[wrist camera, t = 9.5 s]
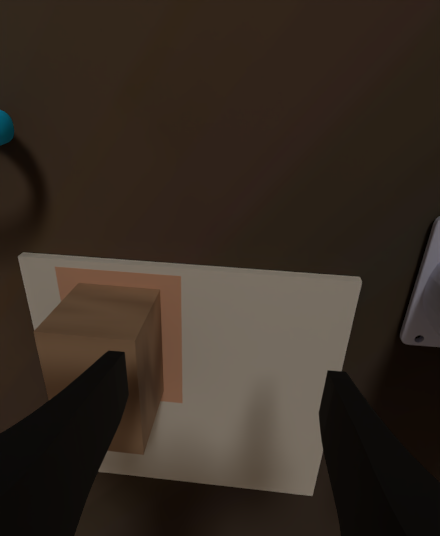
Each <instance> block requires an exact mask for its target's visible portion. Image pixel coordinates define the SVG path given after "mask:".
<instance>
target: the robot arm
mask: <svg viewBox="0 0 440 536" xmlns="http://www.w3.org/2000/svg"><path fill="white" fill-rule="evenodd" d="M419 335H421V336H420V337H419V338H417V339H415V337H416V336H419ZM400 339H401V340H402V342H403V343H404V344H407V345H418V346H430V347H440V216H439V217H438V218H437V219H436V220H435V221H434V223H433V226H432V229H431V233H430V236H429V239H428V243H427V246H426V249H425V252H424V256H423V259H422V262H421V266H420V269H419V272H418V276H417V279H416V282H415V285H414V289H413V292H412V295H411V299H410V302H409V305H408V308H407V312H406V315H405V318H404V322H403V325H402V328H401V332H400ZM128 396H129V390H128V380H127V370H126V359H125V352H120V351H109V350H108V351H107V352H106V353H105V354H104V355H102V356H101V357H100V358H99V359H98V360H97V361H96V362H94V363H93V364H92V365H91V366H90V367H89V368H88V369H87V370H85V371H84V372H83V373H82V374H81V375H80V376H79V377H77V378H76V379H75V380H74V381H73V382H71V383H70V384H69V385H68V386H67V387H66V388H64V389H63V390H62V391H61V392H59V393H58V394H57V395H56V396H54V397H53V398H52V399H50V400H49V401H48V402H46V403H45V404H44V405H43V406H41V407H40V408H39V409H37V410H36V411H34V412H33V413H32V414H30V415H29V416H27V417H26V418H24V419H23V420H21V421H20V422H18V423H17V424H15V425H14V426H12V427H10V428H9V429H7V430H5V431H4V432H2V433H0V536H74V535H75V532H76V528H77V525H78V523H79V520H80V517H81V514H82V511H83V508H84V505H85V502H86V499H87V497H88V494H89V491H90V489H91V487H92V484H93V482H94V479H95V477H96V475H97V473H98V471H99V468H100V466H101V464H102V462H103V460H104V457H105V455H106V453H107V451H108V449H109V446H110V444H111V442H112V440H113V437H114V435H115V433H116V431H117V429H118V426H119V424H120V422H121V419H122V416H123V412H124V409H125V406H126V403H127V399H128ZM319 423H320V432H321V441H322V446H323V451H324V455H325V460H326V464H327V469H328V473H329V477H330V482H331V486H332V491H333V495H334V499H335V504H336V508H337V513H338V519H339V524H340V531H341V536H440V482H439V481H438V480H436V479H435V478H434V477H433V476H432V475H431V474H430V473H429V472H428V471H427V470H426V469H425V468H424V467H423V466H422V465H421V464H420V463H419V462H418V461H417V460H416V459H415V458H414V457H413V456H412V455H411V454H410V453H409V452H408V450H407V449H406V448H405V447H404V446H403V445H402V444H401V443H400V442H399V440H398V439H397V438H396V437H395V436H394V435H393V433H392V432H391V431H390V430H389V429H388V427H387V426H386V425H385V424H384V423H383V421H382V420H381V419H380V417H379V416H378V415H377V414H376V412H375V411H374V410H373V409H372V407H371V406H370V405H369V403H368V402H367V401H366V399H365V398H364V396H363V395H362V394H361V392H360V391H359V390H358V388H357V387H356V385H355V384H354V383H353V381H352V380H351V378H350V377H349V375H348V374H347V373H346V372H342V371H331V370H328V371H327V376H326V380H325V385H324V390H323V395H322V399H321V404H320V409H319Z"/></svg>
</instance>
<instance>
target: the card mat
mask: <svg viewBox="0 0 440 536" xmlns="http://www.w3.org/2000/svg"><path fill="white" fill-rule="evenodd" d="M18 260H19V264H20V269H21V273H22V278H23V282H24V287H25V291H26V295H27V300H28V304H29V309H30V313H31V318H32V322H33V327H34V330H35V329H36V328H37V327H38V326H39V325H40V324H41V323H42V322H43V321H44V320H45V319H46V317H47V316H48V315H49V314H50V313H51V312H52V311H53V310H54V309H55V308H56V307H57V306H58V305H59V303H60V302H61V301H62V300H63V299H64V298H65V297H66V296H67V295H68V294H69V293H70V292H71V290H72V289H73V288H74V287H75V286H76V285H77V284H78V283H87V284H99V285H112V286H124V287H136V288H148V289H160V300H161V328H162V355H163V382H164V392H163V395H162V398H161V401H160V404H159V408H158V411H157V414H156V417H155V420H154V423H153V427H152V430H151V433H150V436H149V439H148V443H147V446H146V449H145V452H144V455H140V454H131V453H122V452H113V451H107V453H106V455H105V457H104V460H103V462H102V464H101V466H100V468H99V471H98V472H106V473H115V474H123V475H132V476H141V477H150V478H159V479H168V480H176V481H185V482H194V483H203V484H212V485H220V486H229V487H238V488H247V489H256V490H265V491H273V492H282V493H291V494H300V495H309V496H313V491H314V487H315V483H316V479H317V474H318V470H319V466H320V461H321V457H322V453H323V446H322V441H321V432H320V423H319V409H320V404H321V399H322V395H323V390H324V385H325V380H326V376H327V371H328V370H331V371H342V366H343V362H344V358H345V353H346V349H347V345H348V340H349V336H350V332H351V327H352V323H353V319H354V314H355V310H356V306H357V301H358V297H359V293H360V288H361V284H362V281H361V279H360V277H355V276H341V275H328V274H314V273H300V272H286V271H273V270H259V269H245V268H232V267H218V266H204V265H190V264H177V263H163V262H149V261H135V260H122V259H108V258H94V257H80V256H67V255H53V254H39V253H26V252H23V253H22V254H20V255H19V256H18Z"/></svg>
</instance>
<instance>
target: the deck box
mask: <svg viewBox="0 0 440 536" xmlns="http://www.w3.org/2000/svg"><path fill="white" fill-rule="evenodd" d="M34 336H35V341H36V345H37V350H38V354H39V359H40V363H41V368H42V372H43V377H44V381H45V386H46V390H47V395H48V399H49V400H50V399H52V398H53V397H54V396H56V395H57V394H58V393H59V392H61V391H62V390H63V389H64V388H66V387H67V386H68V385H69V384H70V383H71V382H73V381H74V380H75V379H76V378H77V377H79V376H80V375H81V374H82V373H83V372H84V371H85V370H87V369H88V368H89V367H90V366H91V365H92V364H93V363H94V362H96V361H97V360H98V359H99V358H100V357H101V356H102V355H104V354H105V353H106V352H107V351H108V350H109V351H120V352H125V359H126V370H127V380H128V390H129V396H128V399H127V403H126V406H125V409H124V412H123V416H122V419H121V422H120V424H119V426H118V429H117V431H116V433H115V435H114V437H113V440H112V442H111V444H110V446H109V449H108V451H113V452H122V453H131V454H140V455H144V452H145V449H146V446H147V443H148V439H149V436H150V433H151V430H152V427H153V423H154V420H155V417H156V414H157V411H158V408H159V404H160V401H161V398H162V395H163V392H164V382H163V355H162V328H161V300H160V289H148V288H136V287H124V286H112V285H99V284H87V283H78V284H77V285H76V286H75V287H74V288H73V289H72V290H71V292H70V293H69V294H68V295H67V296H66V297H65V298H64V299H63V300H62V301H61V302H60V303H59V305H58V306H57V307H56V308H55V309H54V310H53V311H52V312H51V313H50V314H49V315H48V316H47V317H46V319H45V320H44V321H43V322H42V323H41V324H40V325H39V326H38V327H37V328H36V329H35V330H34Z"/></svg>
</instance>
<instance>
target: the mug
mask: <svg viewBox="0 0 440 536" xmlns="http://www.w3.org/2000/svg"><path fill="white" fill-rule="evenodd" d="M13 136H14V127H13V122H12V120H11V117H10V116H9V115H8V114H7V113H6V112H4V111H2V110H0V146H1V145H3V144H6V143H8V142H10V141H11V140H12V139H13Z"/></svg>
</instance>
